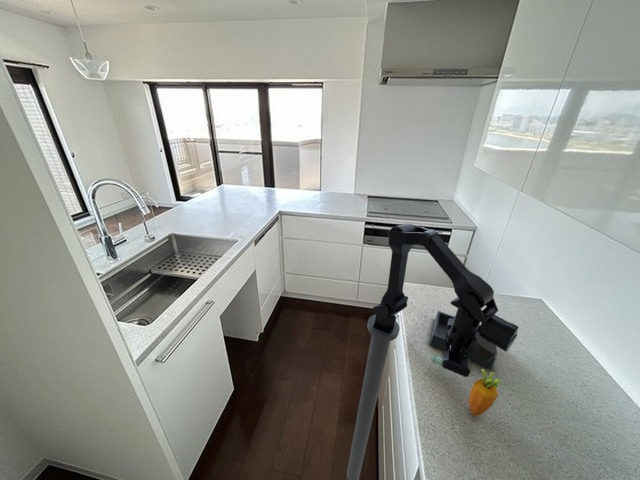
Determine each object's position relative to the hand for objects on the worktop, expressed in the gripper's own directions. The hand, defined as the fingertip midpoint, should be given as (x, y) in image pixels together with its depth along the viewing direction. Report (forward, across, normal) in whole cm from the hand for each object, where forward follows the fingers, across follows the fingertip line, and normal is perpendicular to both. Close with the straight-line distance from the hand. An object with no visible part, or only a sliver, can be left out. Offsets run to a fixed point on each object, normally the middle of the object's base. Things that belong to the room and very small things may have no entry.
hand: (449, 364), depth 75 cm
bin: (+3, +15, -3) cm, 16 cm away
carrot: (+3, -10, -7) cm, 13 cm away
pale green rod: (+1, 0, 0) cm, 1 cm away
